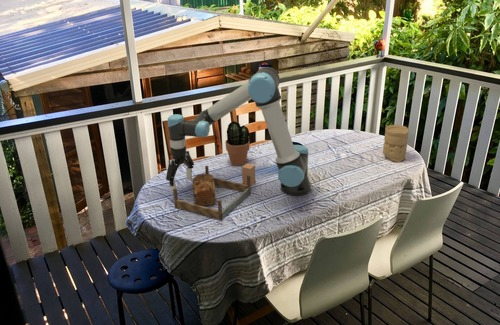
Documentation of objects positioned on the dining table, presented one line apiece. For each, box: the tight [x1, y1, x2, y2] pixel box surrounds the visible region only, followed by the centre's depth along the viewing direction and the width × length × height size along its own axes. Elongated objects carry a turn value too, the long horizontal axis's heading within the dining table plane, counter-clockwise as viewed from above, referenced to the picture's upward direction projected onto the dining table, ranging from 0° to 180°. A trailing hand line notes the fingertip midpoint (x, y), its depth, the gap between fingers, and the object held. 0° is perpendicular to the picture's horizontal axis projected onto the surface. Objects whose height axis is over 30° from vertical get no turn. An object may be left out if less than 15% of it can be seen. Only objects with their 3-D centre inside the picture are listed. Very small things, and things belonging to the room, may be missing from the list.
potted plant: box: [225, 120, 250, 167], centre depth 253 cm, size 14×14×25 cm
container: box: [382, 124, 410, 163], centre depth 255 cm, size 13×13×18 cm
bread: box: [191, 173, 216, 207], centre depth 221 cm, size 19×11×10 cm, turn 7°
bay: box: [172, 165, 252, 221], centre depth 217 cm, size 26×28×10 cm
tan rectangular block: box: [241, 162, 256, 187], centre depth 233 cm, size 5×5×10 cm
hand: (181, 185), depth 226 cm, fingers open, 13 cm apart
